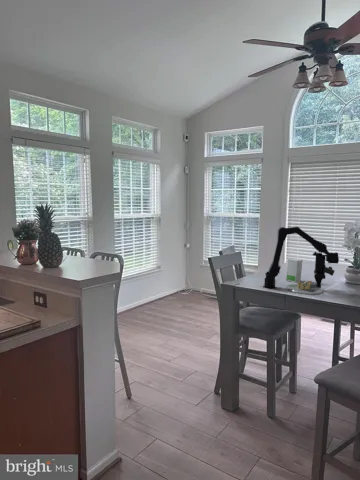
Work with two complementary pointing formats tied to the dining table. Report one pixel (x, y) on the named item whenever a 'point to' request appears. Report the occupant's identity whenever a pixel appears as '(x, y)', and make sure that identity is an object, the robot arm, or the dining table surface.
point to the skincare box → (294, 270)
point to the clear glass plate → (303, 291)
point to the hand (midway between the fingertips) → (318, 287)
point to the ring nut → (308, 286)
